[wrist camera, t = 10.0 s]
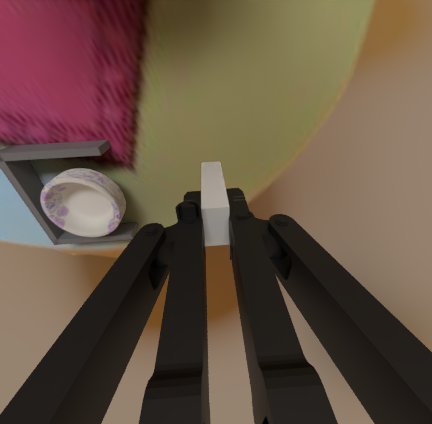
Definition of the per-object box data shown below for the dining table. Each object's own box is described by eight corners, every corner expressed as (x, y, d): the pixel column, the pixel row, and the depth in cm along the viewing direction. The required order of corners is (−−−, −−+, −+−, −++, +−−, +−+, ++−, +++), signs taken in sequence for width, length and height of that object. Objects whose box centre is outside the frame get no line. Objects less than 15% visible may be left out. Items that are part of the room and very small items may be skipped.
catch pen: (11, 145, 41) (-10, 153, 37) (108, 139, 41) (97, 147, 37) (65, 231, 54) (54, 244, 50) (138, 226, 54) (132, 239, 50)
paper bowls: (137, 216, 53) (128, 236, 46) (78, 219, 52) (60, 240, 46) (120, 160, 44) (105, 175, 37) (48, 163, 43) (21, 179, 37)
